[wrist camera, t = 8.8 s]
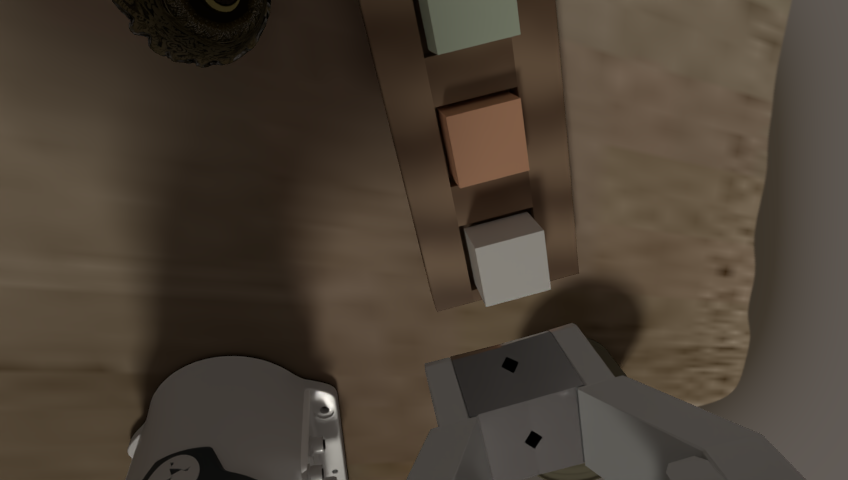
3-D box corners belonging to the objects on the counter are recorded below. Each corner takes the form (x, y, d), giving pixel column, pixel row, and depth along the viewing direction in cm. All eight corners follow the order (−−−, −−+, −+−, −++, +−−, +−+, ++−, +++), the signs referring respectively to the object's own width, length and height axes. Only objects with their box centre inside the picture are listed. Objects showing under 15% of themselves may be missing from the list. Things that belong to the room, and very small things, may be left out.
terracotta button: (513, 156, 38) (529, 170, 35) (449, 173, 38) (459, 188, 35) (504, 89, 36) (520, 98, 32) (436, 106, 35) (445, 117, 32)
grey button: (534, 267, 40) (551, 289, 37) (474, 283, 40) (486, 307, 37) (527, 211, 38) (543, 230, 35) (463, 228, 38) (475, 248, 35)
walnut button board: (564, 256, 44) (579, 273, 41) (430, 292, 43) (437, 311, 41) (529, -92, 32) (546, -101, 29) (346, -49, 32) (346, -53, 29)
